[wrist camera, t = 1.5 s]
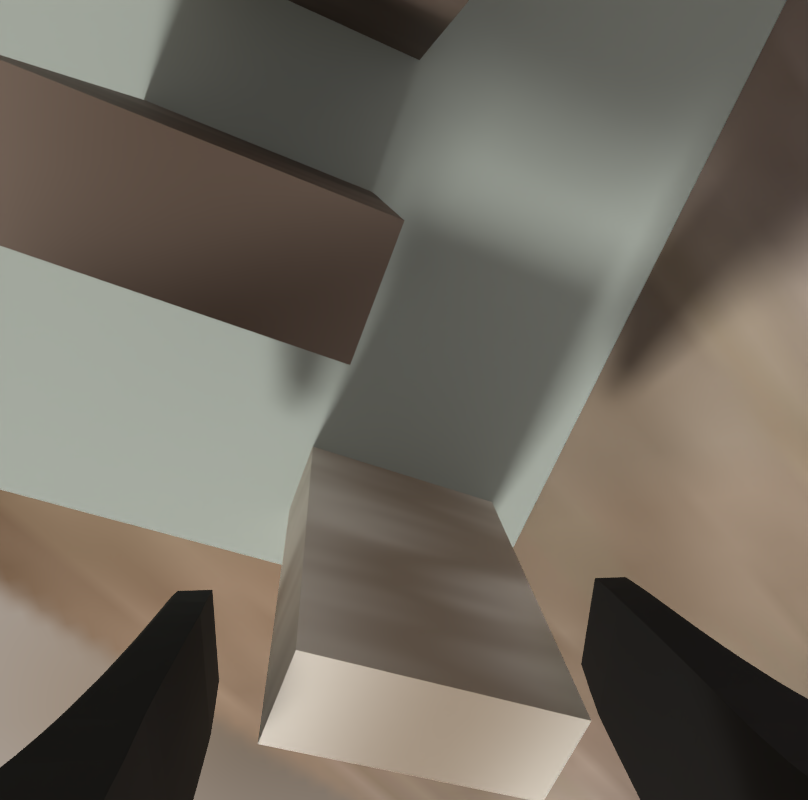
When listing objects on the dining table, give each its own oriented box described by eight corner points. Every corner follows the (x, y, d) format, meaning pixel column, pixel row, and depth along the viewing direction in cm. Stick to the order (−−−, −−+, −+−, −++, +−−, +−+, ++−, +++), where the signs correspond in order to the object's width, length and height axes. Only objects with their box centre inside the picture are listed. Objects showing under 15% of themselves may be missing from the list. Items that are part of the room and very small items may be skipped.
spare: (491, 501, 17) (590, 721, 10) (464, 559, 17) (542, 802, 11) (312, 446, 16) (295, 649, 9) (289, 508, 16) (258, 744, 10)
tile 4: (372, 191, 14) (404, 220, 7) (344, 271, 14) (349, 365, 8) (143, 99, 13) (-57, 36, 6) (122, 188, 13) (-82, 217, 7)
